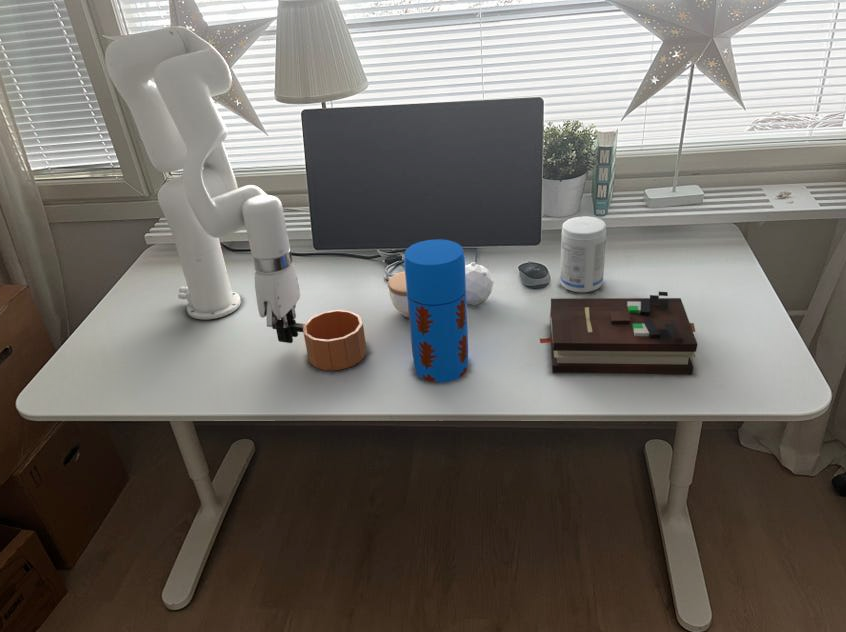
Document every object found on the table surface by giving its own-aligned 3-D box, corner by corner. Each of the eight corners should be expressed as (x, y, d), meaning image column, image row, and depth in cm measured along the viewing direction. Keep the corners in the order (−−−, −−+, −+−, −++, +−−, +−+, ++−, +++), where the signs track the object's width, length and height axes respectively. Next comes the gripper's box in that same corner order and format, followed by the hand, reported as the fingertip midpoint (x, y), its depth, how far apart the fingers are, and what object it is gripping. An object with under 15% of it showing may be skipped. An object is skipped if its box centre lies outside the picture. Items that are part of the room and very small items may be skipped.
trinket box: (434, 324, 154) (432, 285, 149) (386, 322, 156) (382, 285, 151) (442, 300, 163) (439, 262, 157) (396, 298, 165) (392, 262, 160)
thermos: (452, 389, 134) (445, 269, 120) (403, 375, 139) (392, 259, 125) (478, 359, 141) (474, 244, 128) (431, 347, 147) (423, 235, 133)
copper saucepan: (265, 362, 147) (258, 333, 143) (291, 332, 156) (285, 304, 152) (353, 373, 141) (348, 343, 137) (374, 341, 150) (370, 312, 146)
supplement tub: (591, 271, 168) (595, 212, 160) (610, 289, 160) (615, 228, 152) (552, 278, 167) (555, 220, 158) (569, 297, 159) (572, 236, 151)
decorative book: (539, 292, 146) (692, 291, 141) (538, 323, 151) (687, 323, 146) (540, 342, 131) (713, 343, 126) (539, 376, 135) (707, 378, 130)
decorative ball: (504, 302, 164) (507, 267, 154) (470, 327, 161) (471, 293, 151) (477, 280, 168) (479, 245, 158) (444, 304, 165) (443, 270, 155)
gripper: (274, 241, 146) (289, 318, 157) (235, 276, 134) (254, 357, 145) (307, 243, 144) (320, 321, 154) (270, 279, 132) (287, 361, 142)
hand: (288, 338), depth 149 cm, fingers closed on copper saucepan, 1 cm apart
